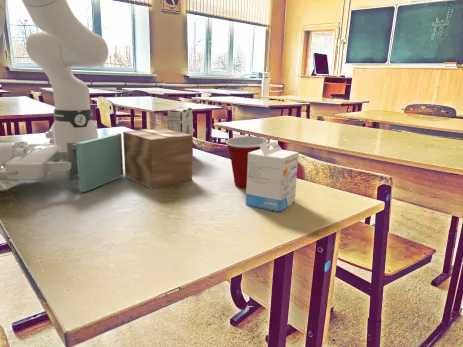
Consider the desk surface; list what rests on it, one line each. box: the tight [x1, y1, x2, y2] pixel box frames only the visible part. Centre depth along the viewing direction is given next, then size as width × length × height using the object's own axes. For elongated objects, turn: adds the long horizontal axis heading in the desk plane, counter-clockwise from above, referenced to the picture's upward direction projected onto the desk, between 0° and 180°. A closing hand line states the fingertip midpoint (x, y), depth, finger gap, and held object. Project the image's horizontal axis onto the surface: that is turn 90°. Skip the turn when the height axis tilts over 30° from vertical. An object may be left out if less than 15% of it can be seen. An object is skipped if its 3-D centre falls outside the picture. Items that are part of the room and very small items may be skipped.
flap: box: [67, 132, 124, 193], centre depth 89 cm, size 16×6×11 cm, turn 162°
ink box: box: [245, 141, 300, 213], centre depth 78 cm, size 9×8×13 cm
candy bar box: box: [166, 106, 194, 156], centre depth 117 cm, size 11×5×16 cm, turn 168°
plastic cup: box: [225, 135, 270, 189], centre depth 91 cm, size 11×11×12 cm
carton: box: [122, 128, 193, 189], centre depth 95 cm, size 14×12×12 cm
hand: (74, 160), depth 85 cm, fingers open, 8 cm apart
